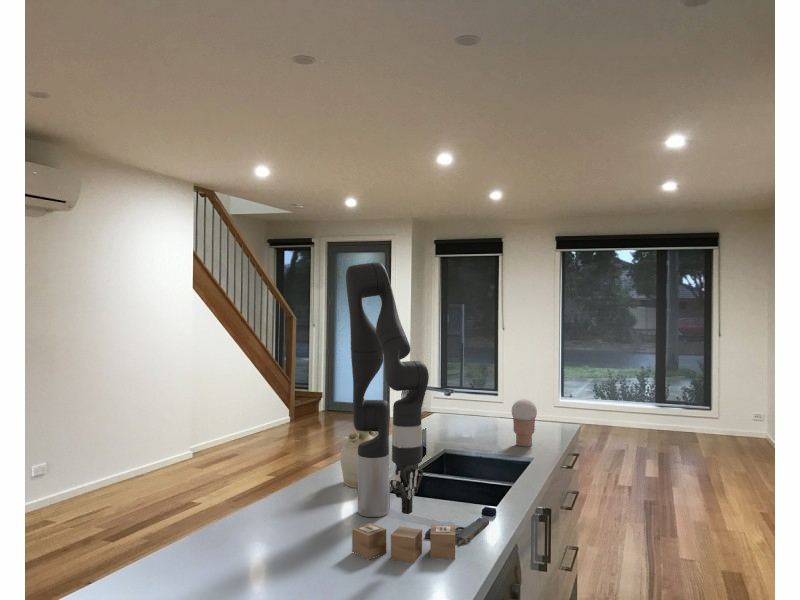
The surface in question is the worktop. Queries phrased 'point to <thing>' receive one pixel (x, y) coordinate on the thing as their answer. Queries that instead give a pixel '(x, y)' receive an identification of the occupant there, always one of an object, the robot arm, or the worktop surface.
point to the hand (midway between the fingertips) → (406, 512)
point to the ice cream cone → (524, 421)
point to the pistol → (466, 531)
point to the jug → (353, 456)
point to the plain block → (406, 544)
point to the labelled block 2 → (442, 542)
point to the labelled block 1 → (369, 540)
